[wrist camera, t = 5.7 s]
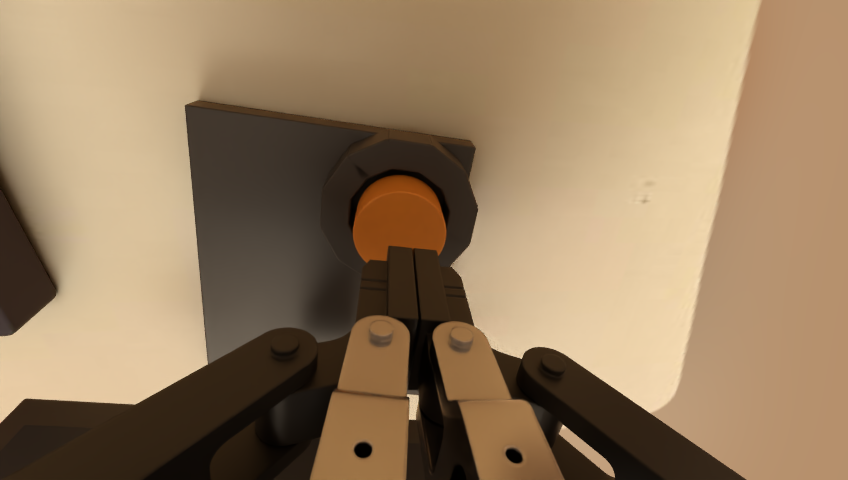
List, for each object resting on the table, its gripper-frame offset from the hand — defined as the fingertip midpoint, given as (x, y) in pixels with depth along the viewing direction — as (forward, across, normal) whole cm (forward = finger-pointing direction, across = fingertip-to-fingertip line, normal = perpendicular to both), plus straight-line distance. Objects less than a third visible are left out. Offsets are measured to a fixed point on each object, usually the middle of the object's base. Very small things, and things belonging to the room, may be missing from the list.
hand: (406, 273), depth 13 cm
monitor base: (+8, +3, +5) cm, 10 cm away
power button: (+5, 0, 0) cm, 5 cm away
